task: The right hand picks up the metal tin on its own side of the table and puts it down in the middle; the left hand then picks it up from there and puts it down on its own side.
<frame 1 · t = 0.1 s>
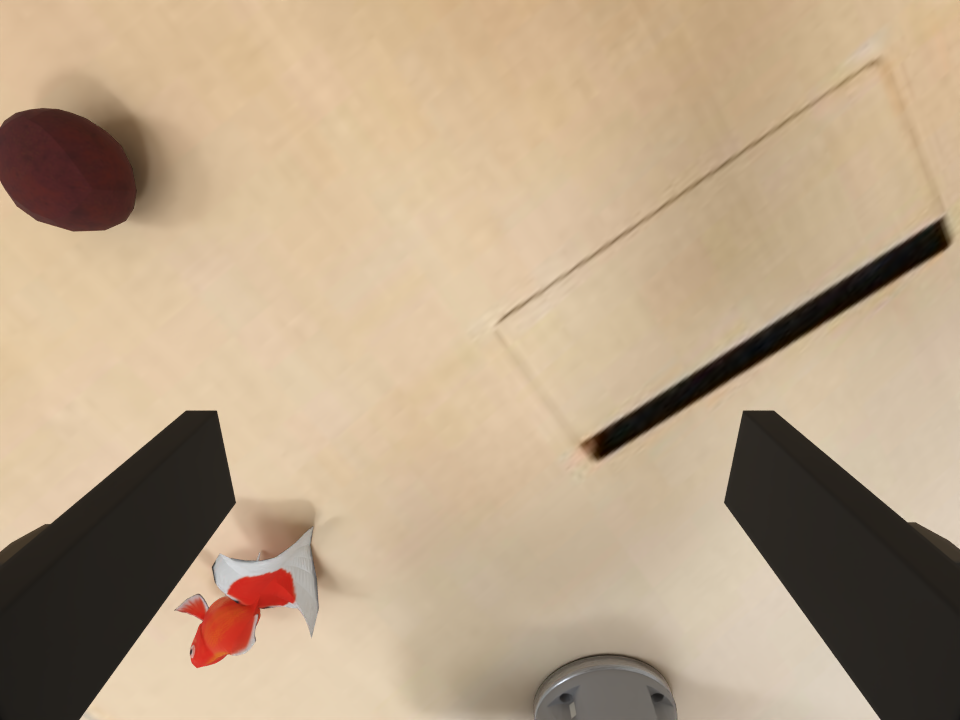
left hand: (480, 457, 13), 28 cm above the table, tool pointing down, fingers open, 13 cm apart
fish: (269, 561, 50), on the table
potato: (107, 173, 37), on the table
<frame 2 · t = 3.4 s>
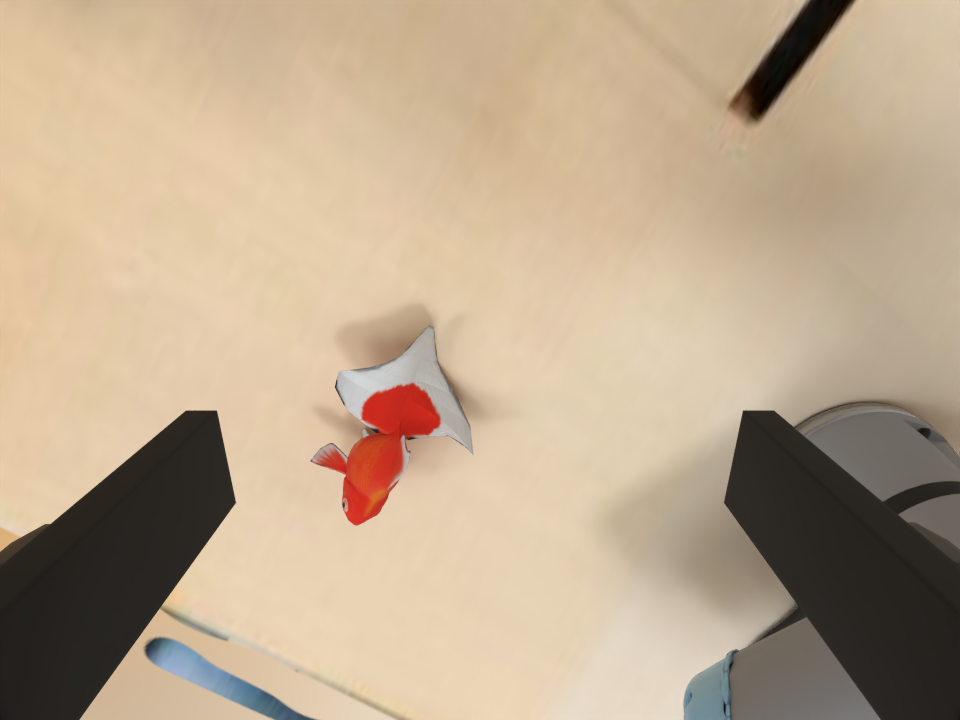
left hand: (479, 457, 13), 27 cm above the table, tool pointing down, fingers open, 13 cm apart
fish: (398, 400, 42), on the table
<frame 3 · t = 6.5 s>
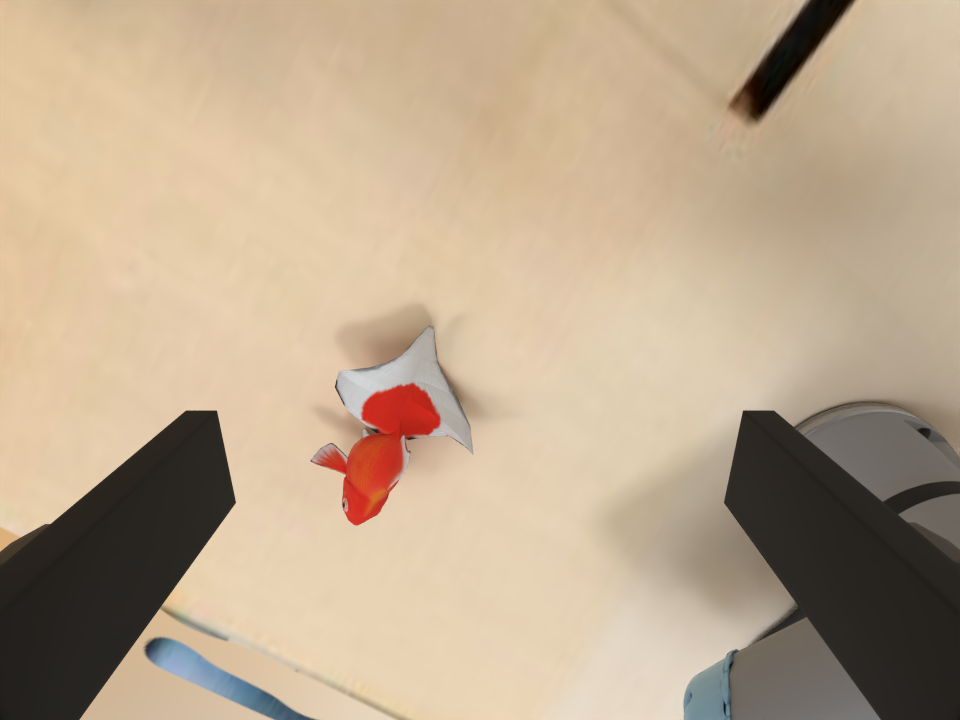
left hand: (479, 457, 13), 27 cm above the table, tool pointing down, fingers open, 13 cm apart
fish: (398, 400, 42), on the table
when the right hand's fingers open (5 cm above the table, at t = 9.7 s): tin drops 1 cm, on the table.
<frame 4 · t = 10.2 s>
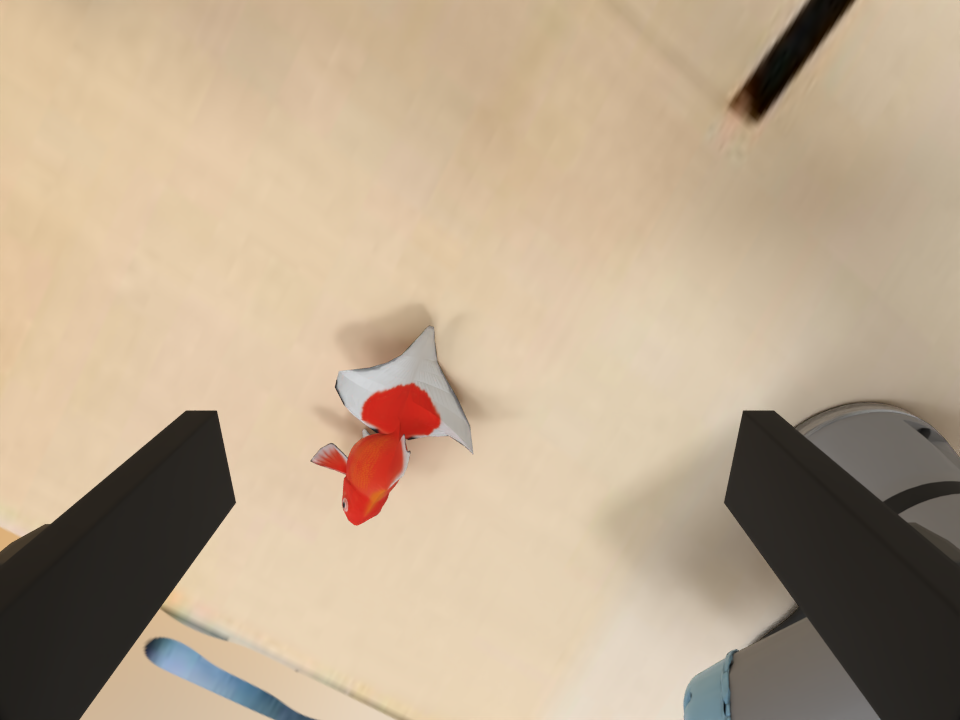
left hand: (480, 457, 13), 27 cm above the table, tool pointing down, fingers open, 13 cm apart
fish: (398, 400, 42), on the table
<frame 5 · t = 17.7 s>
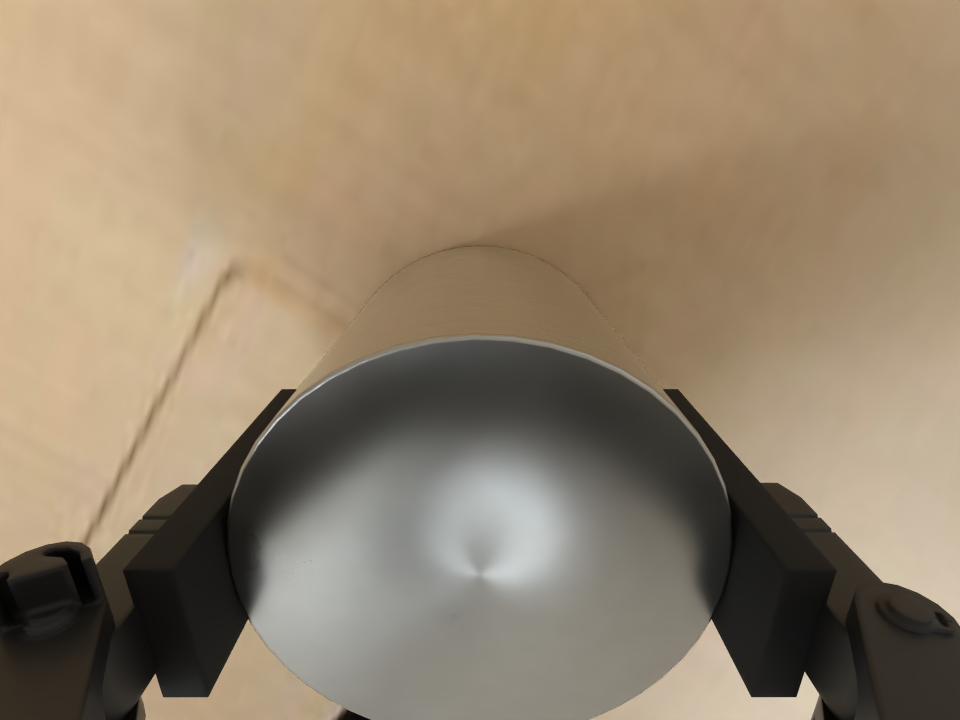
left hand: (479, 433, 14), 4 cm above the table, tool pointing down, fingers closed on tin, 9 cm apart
tin: (479, 378, 18), on the table, touching left hand
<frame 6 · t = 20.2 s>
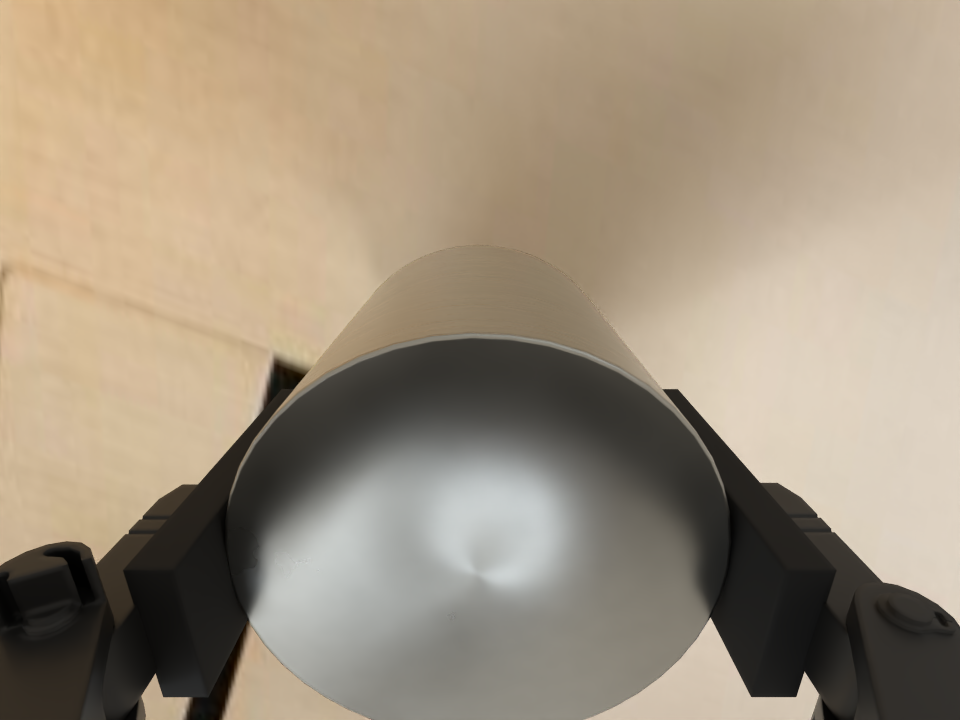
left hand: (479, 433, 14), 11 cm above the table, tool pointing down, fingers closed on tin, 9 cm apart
tin: (479, 378, 18), point 8 cm above the table, touching left hand
when the left hand's fingers open (5 cm above the table, at t = 23.1 s): tin drops 1 cm, on the table.
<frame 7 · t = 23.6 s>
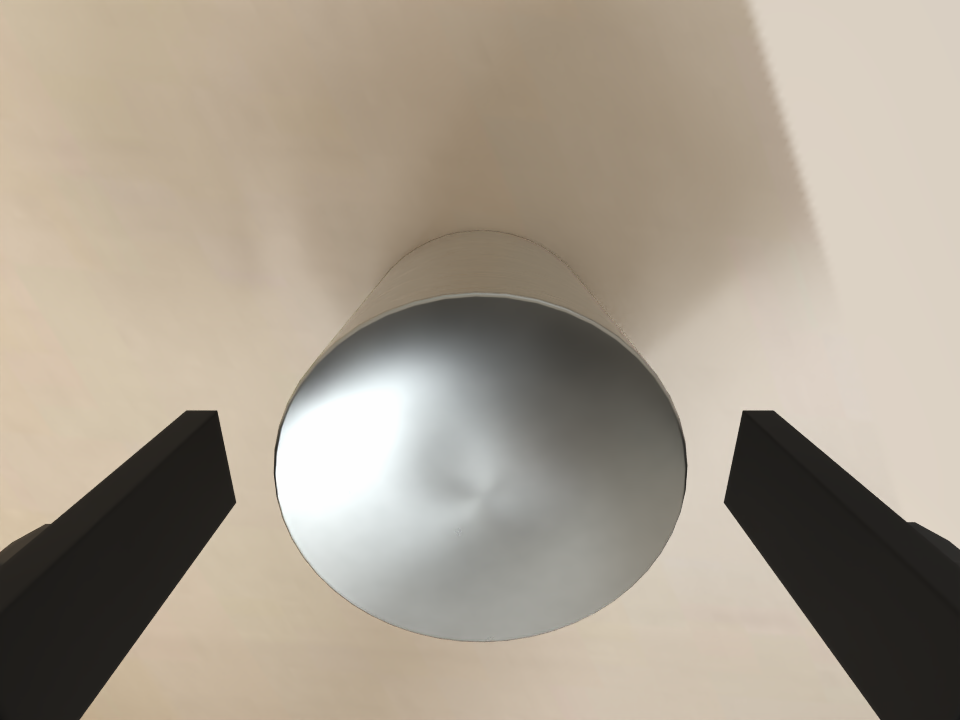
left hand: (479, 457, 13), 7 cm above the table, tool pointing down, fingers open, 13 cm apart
tin: (480, 350, 20), on the table
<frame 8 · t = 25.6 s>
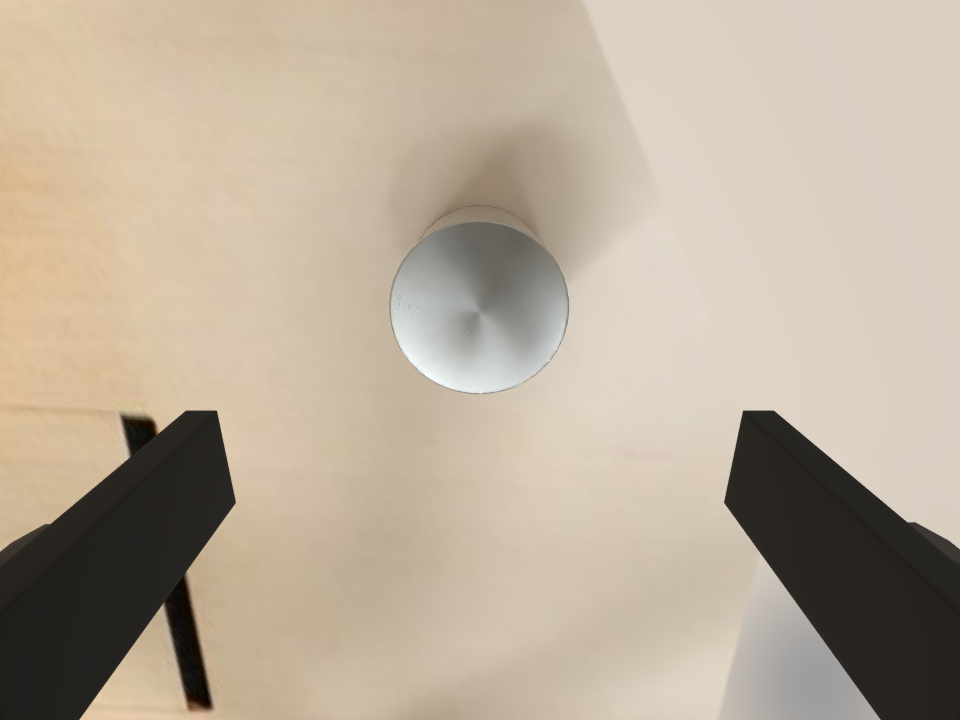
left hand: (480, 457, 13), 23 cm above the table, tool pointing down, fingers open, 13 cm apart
tin: (479, 276, 34), on the table
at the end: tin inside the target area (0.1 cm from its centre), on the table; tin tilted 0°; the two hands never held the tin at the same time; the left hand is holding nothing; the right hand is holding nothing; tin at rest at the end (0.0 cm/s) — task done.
